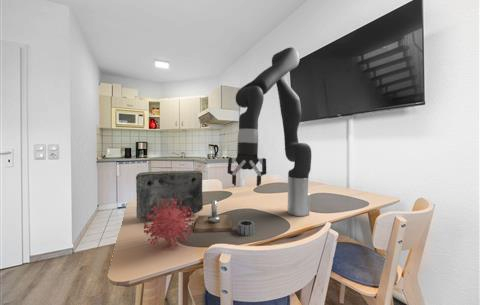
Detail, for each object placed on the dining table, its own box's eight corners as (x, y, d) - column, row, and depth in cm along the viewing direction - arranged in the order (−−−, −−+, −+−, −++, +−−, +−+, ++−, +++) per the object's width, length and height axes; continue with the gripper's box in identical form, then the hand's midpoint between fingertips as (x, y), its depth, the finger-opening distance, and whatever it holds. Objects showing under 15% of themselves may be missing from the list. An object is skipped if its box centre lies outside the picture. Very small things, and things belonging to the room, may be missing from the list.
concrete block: (200, 211, 97) (200, 169, 96) (203, 217, 89) (203, 172, 88) (138, 217, 88) (138, 171, 87) (135, 225, 79) (135, 174, 79)
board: (230, 217, 89) (230, 214, 89) (232, 231, 75) (232, 227, 75) (198, 218, 87) (198, 215, 87) (194, 232, 73) (194, 228, 73)
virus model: (147, 265, 53) (147, 209, 52) (141, 242, 65) (141, 196, 65) (201, 250, 61) (201, 201, 60) (186, 232, 73) (186, 191, 73)
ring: (252, 228, 78) (253, 219, 77) (255, 235, 71) (255, 226, 71) (236, 228, 77) (237, 220, 77) (238, 235, 71) (238, 226, 71)
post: (220, 218, 84) (220, 199, 83) (219, 223, 79) (220, 202, 79) (208, 219, 83) (208, 199, 83) (207, 223, 78) (207, 202, 78)
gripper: (265, 142, 78) (263, 184, 79) (228, 141, 78) (227, 183, 78) (268, 142, 71) (267, 188, 71) (228, 140, 70) (226, 187, 70)
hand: (246, 185), depth 74 cm, fingers open, 8 cm apart
